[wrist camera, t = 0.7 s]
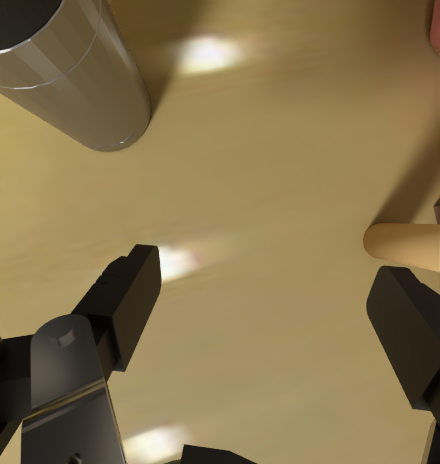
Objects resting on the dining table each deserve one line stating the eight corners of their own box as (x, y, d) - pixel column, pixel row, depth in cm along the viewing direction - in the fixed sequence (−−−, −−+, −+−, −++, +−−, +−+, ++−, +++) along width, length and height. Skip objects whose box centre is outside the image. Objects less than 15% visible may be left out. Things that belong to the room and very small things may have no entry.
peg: (359, 228, 31) (485, 236, 17) (392, 218, 31) (543, 218, 17) (368, 262, 31) (499, 297, 17) (400, 252, 32) (556, 278, 18)
